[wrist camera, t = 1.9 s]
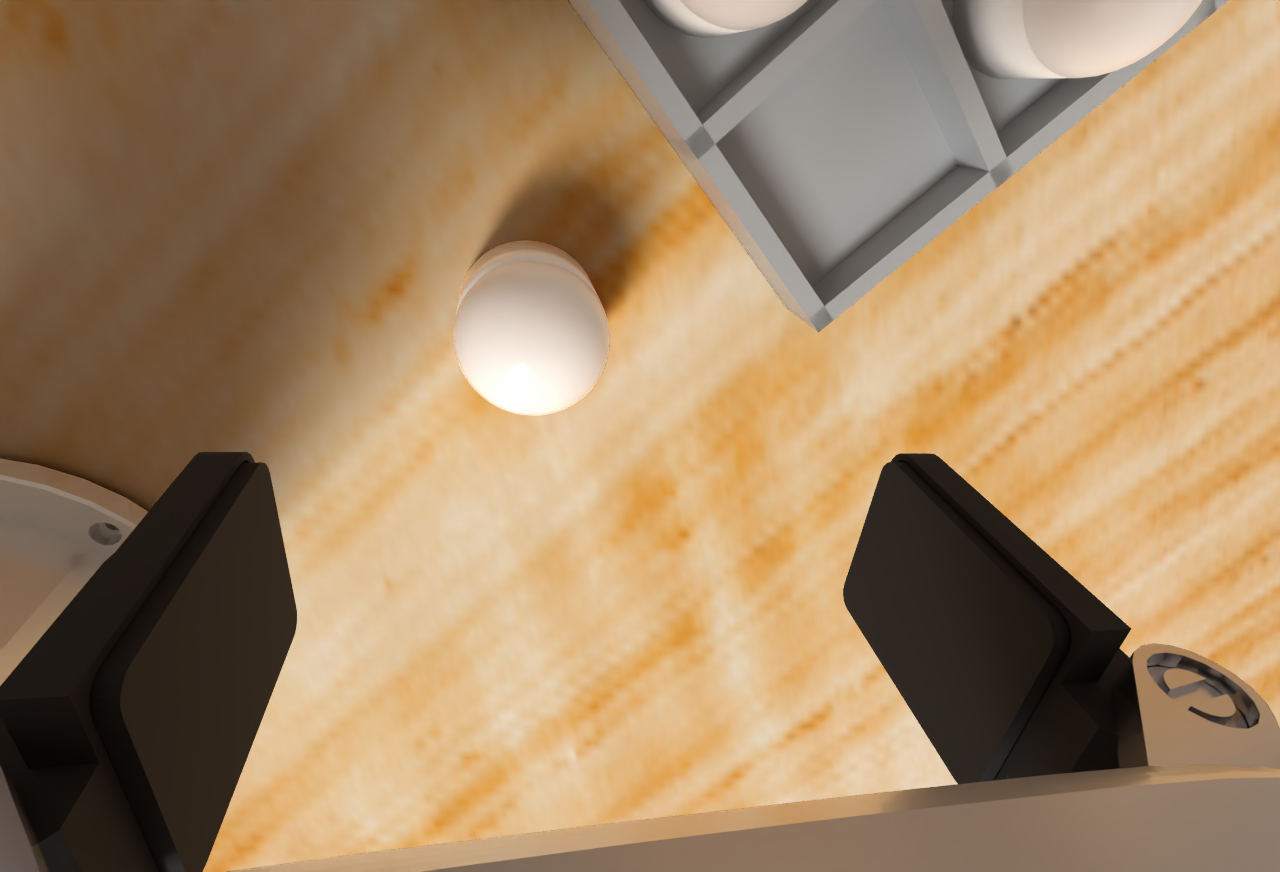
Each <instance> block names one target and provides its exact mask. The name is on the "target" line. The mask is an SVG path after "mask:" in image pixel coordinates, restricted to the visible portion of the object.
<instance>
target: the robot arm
mask: <svg viewBox="0 0 1280 872" xmlns="http://www.w3.org/2000/svg"><path fill="white" fill-rule="evenodd" d="M843 596H844V602H845V605H846V607H847V609H848V611H849V613H850V614H851V616H852V617H853V619H854V620H855V622H856V624H857V625H858V627H859V628H860V630H861V632H862V633H863V635H864V636H865V638H866V640H867V641H868V643H869V644H870V646H871V647H872V649H873V651H874V652H875V654H876V655H877V657H878V659H879V660H880V662H881V663H882V665H883V666H884V668H885V670H886V671H887V673H888V674H889V676H890V678H891V679H892V681H893V682H894V684H895V686H896V687H897V689H898V690H899V692H900V693H901V695H902V697H903V698H904V700H905V701H906V703H907V705H908V706H909V708H910V709H911V711H912V713H913V714H914V716H915V717H916V719H917V720H918V722H919V724H920V725H921V727H922V728H923V730H924V732H925V733H926V735H927V736H928V738H929V739H930V741H931V743H932V744H933V746H934V747H935V749H936V751H937V752H938V754H939V755H940V757H941V759H942V760H943V762H944V763H945V765H946V766H947V768H948V770H949V771H950V773H951V774H952V776H953V778H954V779H955V780H956V782H957V783H958V785H948V786H939V787H930V788H921V789H911V790H902V791H893V792H884V793H874V794H865V795H856V796H847V797H838V798H830V799H821V800H812V801H803V802H794V803H785V804H776V805H768V806H759V807H750V808H741V809H732V810H724V811H715V812H706V813H697V814H689V815H680V816H671V817H663V818H654V819H645V820H637V821H628V822H619V823H610V824H602V825H594V826H585V827H577V828H569V829H560V830H552V831H543V832H535V833H527V834H518V835H510V836H502V837H493V838H485V839H477V840H468V841H460V842H452V843H443V844H435V845H426V846H418V847H410V848H401V849H393V850H385V851H376V852H368V853H360V854H353V855H346V856H338V857H331V858H323V859H316V860H309V861H301V862H294V863H287V864H279V865H272V866H265V867H257V868H250V869H243V870H235V871H228V872H1280V728H1279V726H1278V723H1277V720H1276V718H1275V716H1274V714H1273V713H1272V711H1271V709H1270V708H1269V706H1268V704H1267V703H1266V702H1265V701H1264V700H1263V699H1262V698H1261V697H1260V695H1259V694H1258V693H1257V692H1256V691H1255V690H1254V689H1253V688H1252V687H1250V686H1249V685H1248V684H1247V683H1245V682H1244V681H1243V680H1241V679H1240V678H1239V677H1237V676H1236V675H1235V674H1234V673H1232V672H1230V671H1229V670H1227V669H1225V668H1223V667H1222V666H1220V665H1218V664H1217V663H1215V662H1213V661H1211V660H1209V659H1207V658H1205V657H1202V656H1200V655H1198V654H1196V653H1194V652H1191V651H1188V650H1185V649H1181V648H1178V647H1175V646H1171V645H1162V644H1148V645H1142V646H1140V647H1139V648H1138V649H1137V650H1135V651H1134V652H1133V654H1132V656H1131V657H1130V658H1129V657H1128V656H1127V655H1126V654H1125V653H1124V652H1123V651H1122V650H1121V649H1119V648H1120V646H1121V644H1122V643H1123V641H1124V640H1125V638H1126V636H1127V635H1128V633H1129V632H1130V630H1131V628H1130V627H1129V626H1128V625H1126V624H1125V623H1124V622H1123V621H1122V620H1121V619H1120V618H1119V617H1118V616H1116V615H1115V614H1114V613H1113V612H1112V611H1111V610H1110V609H1109V608H1107V607H1106V606H1105V605H1104V604H1103V603H1102V602H1101V601H1100V600H1098V599H1097V598H1096V597H1095V596H1094V595H1093V594H1092V593H1091V592H1089V591H1088V590H1087V589H1086V588H1085V587H1084V586H1083V585H1082V584H1081V583H1079V582H1078V581H1077V580H1076V579H1075V578H1074V577H1073V576H1072V575H1070V574H1069V573H1068V572H1067V571H1066V570H1065V569H1064V568H1063V567H1061V566H1060V565H1059V564H1058V563H1057V562H1056V561H1055V560H1054V559H1053V558H1051V557H1050V556H1049V555H1048V554H1047V553H1046V552H1045V551H1044V550H1042V549H1041V548H1040V547H1039V546H1038V545H1037V544H1036V543H1035V542H1033V541H1032V540H1031V539H1030V538H1029V537H1028V536H1027V535H1026V534H1025V533H1023V532H1022V531H1021V530H1020V529H1019V528H1018V527H1017V526H1016V525H1014V524H1013V523H1012V522H1011V521H1010V520H1009V519H1008V518H1007V517H1005V516H1004V515H1003V514H1002V513H1001V512H1000V511H999V510H998V509H996V508H995V507H994V506H993V505H992V504H991V503H990V502H989V501H988V500H986V499H985V498H984V497H983V496H982V495H981V494H980V493H979V492H977V491H976V490H975V489H974V488H973V487H972V486H971V485H970V484H968V483H967V482H966V481H965V480H964V479H963V478H962V477H961V476H960V475H958V474H957V473H956V472H955V471H954V470H953V469H952V468H951V467H949V466H948V465H947V464H946V463H945V462H944V461H943V460H942V459H940V458H939V457H938V456H936V455H935V454H898V455H896V456H895V457H894V458H893V459H892V461H891V462H889V463H887V464H886V465H885V466H884V467H883V469H882V471H881V474H880V477H879V480H878V483H877V486H876V489H875V492H874V496H873V499H872V502H871V505H870V508H869V511H868V514H867V517H866V520H865V523H864V526H863V529H862V532H861V535H860V538H859V541H858V545H857V548H856V551H855V554H854V557H853V560H852V563H851V566H850V569H849V572H848V575H847V578H846V581H845V584H844V589H843ZM296 624H297V610H296V604H295V599H294V594H293V589H292V584H291V579H290V574H289V568H288V563H287V558H286V553H285V548H284V543H283V538H282V533H281V528H280V522H279V517H278V512H277V507H276V502H275V497H274V492H273V487H272V482H271V477H270V472H269V469H268V467H267V465H266V464H265V463H255V462H254V459H253V457H252V456H251V454H249V453H248V452H200V453H198V454H197V455H196V456H194V458H193V459H192V460H191V461H190V462H189V464H188V465H187V466H186V467H185V468H184V470H183V471H182V472H181V473H180V474H179V476H178V477H177V478H176V479H175V480H174V482H173V483H172V484H171V485H170V486H169V488H168V489H167V490H166V491H165V493H164V494H163V495H162V496H161V497H160V499H159V500H158V501H157V502H156V503H155V505H154V506H153V507H152V508H151V509H150V511H149V512H148V511H146V510H145V509H143V508H142V507H140V506H138V505H137V504H135V503H134V502H132V501H130V500H129V499H127V498H126V497H123V496H121V495H119V494H117V493H115V492H112V491H110V490H108V489H106V488H103V487H101V486H99V485H97V484H95V483H92V482H90V481H88V480H86V479H83V478H80V477H76V476H73V475H70V474H66V473H63V472H60V471H57V470H53V469H50V468H47V467H43V466H40V465H35V464H30V463H24V462H18V461H12V460H7V459H1V458H0V872H202V871H203V869H204V867H205V865H206V863H207V860H208V858H209V855H210V852H211V850H212V847H213V845H214V842H215V840H216V837H217V834H218V832H219V829H220V827H221V824H222V821H223V819H224V816H225V814H226V811H227V808H228V806H229V803H230V801H231V798H232V795H233V793H234V790H235V788H236V785H237V783H238V780H239V777H240V775H241V772H242V770H243V767H244V764H245V762H246V759H247V757H248V754H249V751H250V749H251V746H252V744H253V741H254V739H255V736H256V733H257V731H258V728H259V726H260V723H261V720H262V718H263V715H264V713H265V710H266V707H267V705H268V702H269V700H270V697H271V695H272V692H273V689H274V687H275V684H276V682H277V679H278V676H279V674H280V671H281V669H282V666H283V663H284V661H285V658H286V656H287V653H288V650H289V648H290V645H291V643H292V640H293V637H294V634H295V630H296Z"/></svg>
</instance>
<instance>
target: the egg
mask: <svg viewBox="0 0 1280 872" xmlns="http://www.w3.org/2000/svg"><path fill="white" fill-rule="evenodd" d="M453 338H454V349H455V353H456V357H457V360H458V363H459V365H460V368H461V370H462V372H463V374H464V376H465V377H466V379H467V381H468V382H469V383H470V385H471V386H472V387H473V388H474V389H475V390H476V391H477V392H478V393H479V394H480V395H481V396H482V397H483V398H485V399H486V400H487V401H488V402H490V403H492V404H493V405H495V406H497V407H499V408H501V409H503V410H506V411H509V412H512V413H516V414H522V415H545V414H551V413H555V412H558V411H561V410H563V409H566V408H568V407H570V406H572V405H573V404H575V403H577V402H578V401H579V400H581V399H582V398H583V397H584V396H585V395H587V394H588V393H589V392H590V391H591V389H592V388H593V387H594V386H595V384H596V383H597V381H598V379H599V378H600V376H601V375H602V372H603V370H604V368H605V366H606V362H607V359H608V354H609V348H610V331H609V324H608V320H607V317H606V313H605V310H604V308H603V306H602V303H601V301H600V299H599V297H598V295H597V293H596V291H595V289H594V287H593V285H592V283H591V281H590V279H589V277H588V275H587V274H586V272H585V270H584V269H583V268H582V267H581V265H580V264H579V263H578V262H577V261H576V260H575V259H574V258H573V257H572V256H570V255H569V254H568V253H566V252H565V251H563V250H561V249H559V248H558V247H555V246H553V245H550V244H548V243H544V242H540V241H532V240H519V241H512V242H508V243H505V244H501V245H499V246H497V247H495V248H493V249H491V250H489V251H488V252H486V253H485V254H484V255H482V256H481V257H480V258H479V259H478V260H477V261H476V262H475V263H474V264H473V265H472V267H471V268H470V269H469V271H468V272H467V274H466V276H465V278H464V280H463V283H462V286H461V289H460V294H459V299H458V305H457V311H456V317H455V322H454V335H453Z"/></svg>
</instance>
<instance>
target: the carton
mask: <svg viewBox="0 0 1280 872" xmlns="http://www.w3.org/2000/svg"><path fill="white" fill-rule="evenodd" d="M568 1H569V2H570V4H571V5H572V7H573V8H574V9H575V11H576V12H577V14H578V15H579V17H580V18H581V19H582V21H583V22H584V24H585V25H586V26H587V28H588V29H589V31H590V32H591V33H592V35H593V36H594V38H595V39H596V40H597V42H598V43H599V45H600V46H601V47H602V49H603V50H604V52H605V53H606V54H607V56H608V57H609V59H610V60H611V61H612V63H613V64H614V66H615V67H616V68H617V70H618V71H619V73H620V74H621V76H622V77H623V78H624V80H625V81H626V83H627V84H628V85H629V87H630V88H631V90H632V91H633V92H634V94H635V95H636V97H637V98H638V99H639V101H640V102H641V104H642V105H643V106H644V108H645V109H646V111H647V112H648V113H649V115H650V116H651V118H652V119H653V120H654V122H655V123H656V125H657V126H658V128H659V129H660V130H661V132H662V133H663V135H664V136H665V137H666V139H667V140H668V142H669V143H670V144H671V146H672V147H673V149H674V150H675V151H676V153H677V154H678V156H679V157H680V158H681V160H682V161H683V163H684V164H685V165H686V167H687V168H688V170H689V171H690V172H691V174H692V175H693V177H694V178H695V180H696V181H697V182H698V184H699V185H700V187H701V188H702V189H703V191H704V192H705V194H706V195H707V196H708V198H709V199H710V201H711V202H712V203H713V205H714V206H715V208H716V209H717V210H718V212H719V213H720V215H721V216H722V217H723V219H724V220H725V222H726V223H727V224H728V226H729V227H730V229H731V230H732V231H733V233H734V234H735V236H736V237H737V239H738V240H739V241H740V243H741V244H742V246H743V247H744V248H745V250H746V251H747V253H748V254H749V255H750V257H751V258H752V260H753V261H754V262H755V264H756V265H757V267H758V268H759V269H760V271H761V272H762V274H763V275H764V276H765V278H766V279H767V281H768V282H769V283H770V285H771V286H772V288H773V289H774V291H775V292H776V293H777V295H778V296H779V298H780V299H781V300H782V302H783V303H784V305H785V306H786V307H787V309H788V310H790V311H791V312H792V313H794V314H795V315H796V316H798V317H799V318H800V319H802V320H803V321H804V322H805V323H807V324H808V325H809V326H811V327H812V328H813V329H815V330H816V331H817V332H819V331H820V330H822V329H823V328H824V327H825V326H827V325H828V324H829V323H830V322H832V321H833V320H834V319H835V318H837V317H838V316H839V315H840V314H841V313H843V312H844V311H845V310H846V309H848V308H849V307H850V306H851V305H853V304H854V303H855V302H856V301H858V300H859V299H860V298H861V297H863V296H864V295H865V294H866V293H867V292H869V291H870V290H871V289H872V288H874V287H875V286H876V285H877V284H879V283H880V282H881V281H882V280H884V279H885V278H886V277H887V276H888V275H890V274H891V273H892V272H893V271H895V270H896V269H897V268H898V267H900V266H901V265H902V264H903V263H905V262H906V261H907V260H908V259H909V258H911V257H912V256H913V255H914V254H916V253H917V252H918V251H919V250H921V249H922V248H923V247H924V246H926V245H927V244H928V243H929V242H931V241H932V240H933V239H934V238H935V237H937V236H938V235H939V234H940V233H942V232H943V231H944V230H945V229H947V228H948V227H949V226H950V225H952V224H953V223H954V222H955V221H956V220H958V219H959V218H960V217H961V216H963V215H964V214H965V213H966V212H968V211H969V210H970V209H971V208H973V207H974V206H975V205H976V204H977V203H979V202H980V201H981V200H982V199H984V198H985V197H986V196H987V195H989V194H990V193H991V192H992V191H994V190H995V189H996V188H997V187H999V186H1000V185H1001V184H1002V183H1003V182H1005V181H1006V180H1007V179H1008V178H1010V177H1011V176H1012V175H1013V174H1015V173H1016V172H1017V171H1018V170H1020V169H1021V168H1022V167H1023V166H1024V165H1026V164H1027V163H1028V162H1029V161H1031V160H1032V159H1033V158H1034V157H1036V156H1037V155H1038V154H1039V153H1041V152H1042V151H1043V150H1044V149H1046V148H1047V147H1048V146H1049V145H1050V144H1052V143H1053V142H1054V141H1055V140H1057V139H1058V138H1059V137H1060V136H1062V135H1063V134H1064V133H1065V132H1067V131H1068V130H1069V129H1070V128H1071V127H1073V126H1074V125H1075V124H1076V123H1078V122H1079V121H1080V120H1081V119H1083V118H1084V117H1085V116H1086V115H1088V114H1089V113H1090V112H1091V111H1092V110H1094V109H1095V108H1096V107H1097V106H1099V105H1100V104H1101V103H1102V102H1104V101H1105V100H1106V99H1107V98H1109V97H1110V96H1111V95H1112V94H1114V93H1115V92H1116V91H1117V90H1118V89H1120V88H1121V87H1122V86H1123V85H1125V84H1126V83H1127V82H1128V81H1130V80H1131V79H1132V78H1133V77H1135V76H1136V75H1137V74H1138V73H1139V72H1141V71H1142V70H1143V69H1144V68H1146V67H1147V66H1148V65H1149V64H1151V63H1152V62H1153V61H1154V60H1156V59H1157V58H1158V57H1159V56H1160V55H1162V54H1163V53H1164V52H1165V51H1167V50H1168V49H1169V48H1170V47H1172V46H1173V45H1174V44H1175V43H1177V42H1178V41H1179V40H1180V39H1182V38H1183V37H1184V36H1185V35H1186V34H1188V33H1189V32H1190V31H1191V30H1193V29H1194V28H1195V27H1196V26H1198V25H1199V24H1200V23H1201V22H1203V21H1204V20H1205V19H1206V18H1207V17H1209V16H1210V15H1211V14H1212V13H1214V12H1215V11H1216V10H1217V9H1219V8H1220V7H1221V6H1222V5H1224V4H1225V3H1226V2H1227V1H1229V0H568Z"/></svg>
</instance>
